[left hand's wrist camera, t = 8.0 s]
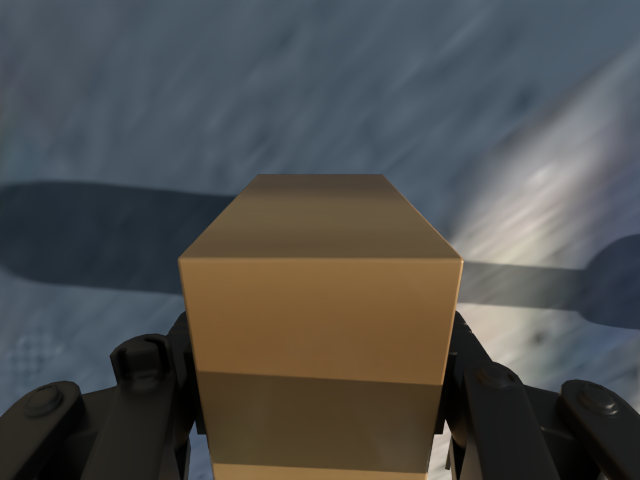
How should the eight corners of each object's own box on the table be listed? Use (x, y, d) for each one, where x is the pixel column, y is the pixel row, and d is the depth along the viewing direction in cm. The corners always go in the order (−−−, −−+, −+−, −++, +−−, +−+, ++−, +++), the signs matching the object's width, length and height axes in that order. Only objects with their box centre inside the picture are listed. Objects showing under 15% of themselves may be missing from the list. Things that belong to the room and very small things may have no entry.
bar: (256, 173, 14) (174, 258, 6) (383, 174, 14) (466, 258, 6) (280, 538, 22) (259, 765, 14) (358, 538, 22) (378, 765, 14)
